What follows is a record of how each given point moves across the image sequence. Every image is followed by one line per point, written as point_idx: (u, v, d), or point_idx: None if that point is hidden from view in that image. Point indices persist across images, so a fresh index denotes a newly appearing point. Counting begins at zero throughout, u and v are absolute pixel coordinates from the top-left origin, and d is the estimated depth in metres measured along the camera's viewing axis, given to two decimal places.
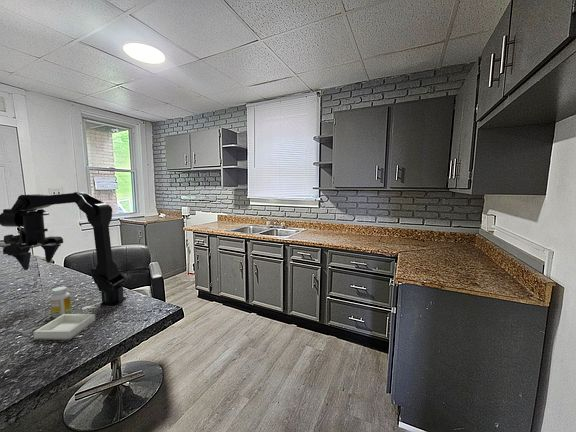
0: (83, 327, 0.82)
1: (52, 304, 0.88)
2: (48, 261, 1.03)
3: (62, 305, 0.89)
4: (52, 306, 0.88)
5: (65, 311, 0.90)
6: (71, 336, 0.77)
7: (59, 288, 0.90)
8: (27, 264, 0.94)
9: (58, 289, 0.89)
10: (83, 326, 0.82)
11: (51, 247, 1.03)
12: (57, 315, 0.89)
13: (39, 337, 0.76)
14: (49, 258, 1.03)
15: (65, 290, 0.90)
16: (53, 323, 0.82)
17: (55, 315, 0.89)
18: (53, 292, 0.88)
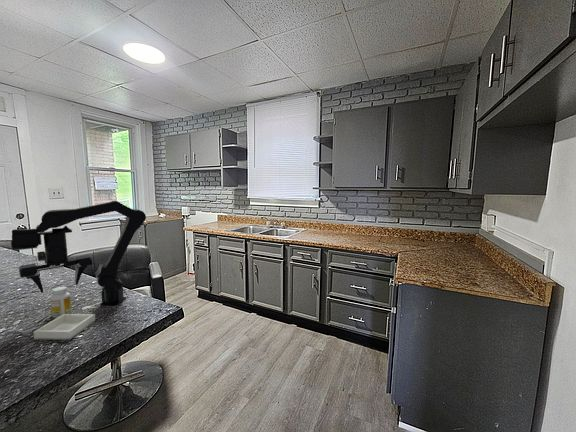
0: (83, 327, 0.82)
1: (52, 304, 0.88)
2: (75, 283, 0.93)
3: (62, 305, 0.89)
4: (52, 306, 0.88)
5: (66, 311, 0.90)
6: (71, 336, 0.77)
7: (59, 288, 0.90)
8: (39, 288, 0.85)
9: (58, 289, 0.89)
10: (83, 326, 0.82)
11: (77, 269, 0.93)
12: (57, 315, 0.89)
13: (39, 337, 0.76)
14: (75, 280, 0.93)
15: (65, 290, 0.90)
16: (53, 323, 0.82)
17: (55, 315, 0.89)
18: (53, 292, 0.88)
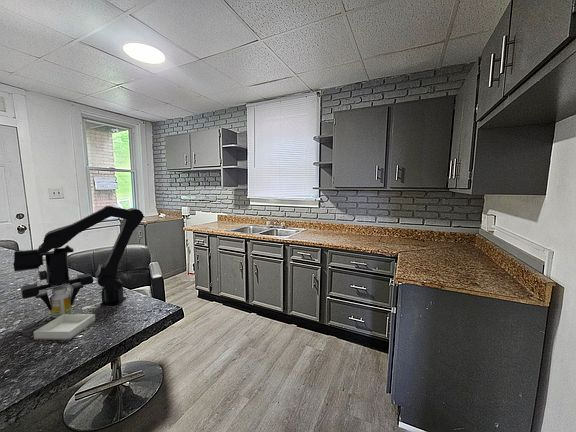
0: (83, 327, 0.82)
1: (52, 304, 0.88)
2: None
3: (62, 305, 0.89)
4: (52, 306, 0.88)
5: (65, 311, 0.90)
6: (71, 336, 0.77)
7: (59, 288, 0.90)
8: (47, 306, 0.87)
9: (58, 289, 0.89)
10: (83, 326, 0.82)
11: (72, 289, 0.92)
12: (57, 315, 0.89)
13: (39, 337, 0.76)
14: (71, 300, 0.92)
15: (65, 290, 0.90)
16: (53, 323, 0.82)
17: (55, 315, 0.89)
18: (53, 292, 0.88)
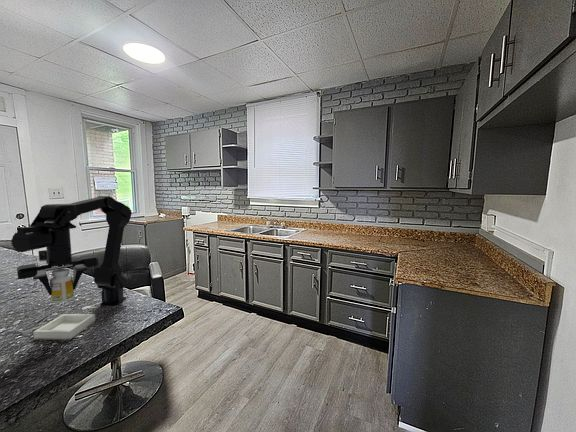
0: (83, 327, 0.82)
1: (52, 287, 0.78)
2: (73, 288, 0.83)
3: (63, 288, 0.79)
4: (52, 290, 0.78)
5: (67, 295, 0.80)
6: (71, 336, 0.77)
7: (60, 270, 0.80)
8: (47, 289, 0.77)
9: (59, 271, 0.79)
10: (83, 326, 0.82)
11: (75, 271, 0.82)
12: (58, 300, 0.78)
13: (39, 337, 0.76)
14: (73, 284, 0.82)
15: (67, 272, 0.80)
16: (53, 323, 0.82)
17: (56, 300, 0.78)
18: (53, 274, 0.78)
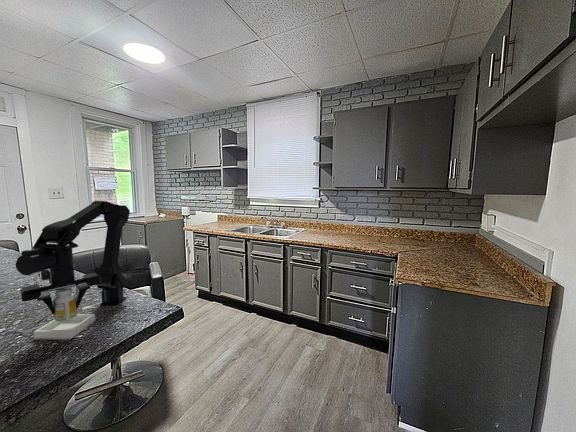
0: (83, 327, 0.82)
1: (56, 307, 0.78)
2: (76, 306, 0.83)
3: (67, 308, 0.79)
4: (56, 310, 0.78)
5: (71, 315, 0.80)
6: (71, 336, 0.77)
7: (63, 289, 0.80)
8: (51, 310, 0.77)
9: (62, 290, 0.80)
10: (83, 326, 0.82)
11: (78, 290, 0.82)
12: (61, 320, 0.79)
13: (39, 337, 0.76)
14: (76, 303, 0.83)
15: (70, 291, 0.81)
16: (53, 323, 0.82)
17: (59, 320, 0.79)
18: (57, 294, 0.78)
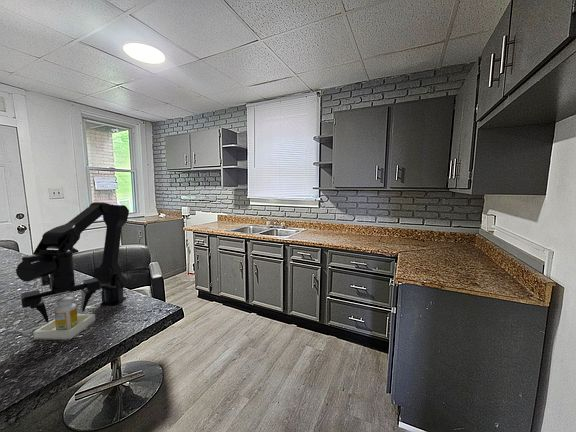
0: (83, 327, 0.82)
1: (57, 317, 0.79)
2: (82, 310, 0.84)
3: (68, 318, 0.80)
4: (57, 319, 0.79)
5: (72, 324, 0.81)
6: (71, 336, 0.77)
7: (64, 299, 0.81)
8: (44, 317, 0.76)
9: (63, 300, 0.80)
10: (83, 326, 0.82)
11: (84, 294, 0.83)
12: (62, 329, 0.79)
13: (39, 337, 0.76)
14: (82, 307, 0.84)
15: (71, 301, 0.81)
16: (53, 323, 0.82)
17: None
18: (58, 304, 0.79)
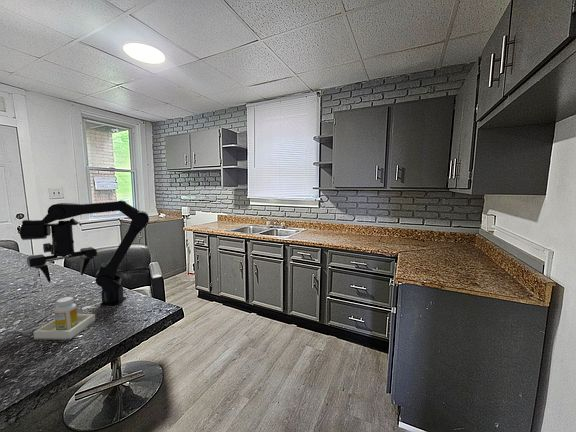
0: (83, 327, 0.82)
1: (57, 317, 0.79)
2: (81, 274, 0.97)
3: (68, 318, 0.80)
4: (57, 319, 0.79)
5: (72, 324, 0.81)
6: (71, 336, 0.77)
7: (64, 299, 0.81)
8: (47, 277, 0.88)
9: (63, 300, 0.80)
10: (83, 326, 0.82)
11: (83, 260, 0.96)
12: (62, 329, 0.79)
13: (39, 337, 0.76)
14: (81, 271, 0.96)
15: (71, 301, 0.81)
16: (53, 323, 0.82)
17: None
18: (58, 304, 0.79)
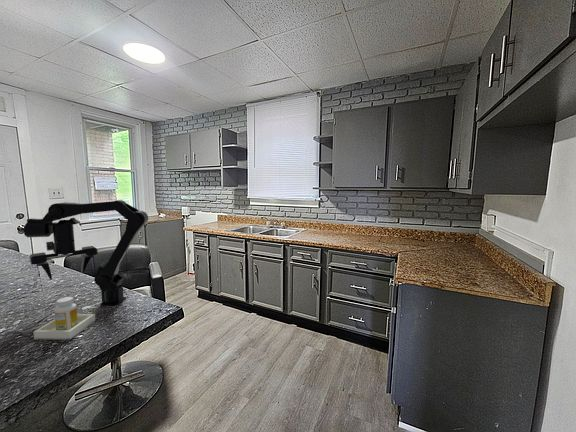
0: (83, 327, 0.82)
1: (57, 317, 0.79)
2: (82, 272, 0.99)
3: (68, 318, 0.80)
4: (57, 319, 0.79)
5: (72, 324, 0.81)
6: (71, 336, 0.77)
7: (64, 299, 0.81)
8: (48, 275, 0.91)
9: (63, 300, 0.80)
10: (83, 326, 0.82)
11: (83, 258, 0.98)
12: (62, 329, 0.79)
13: (39, 337, 0.76)
14: (82, 269, 0.99)
15: (71, 301, 0.81)
16: (53, 323, 0.82)
17: None
18: (58, 304, 0.79)
